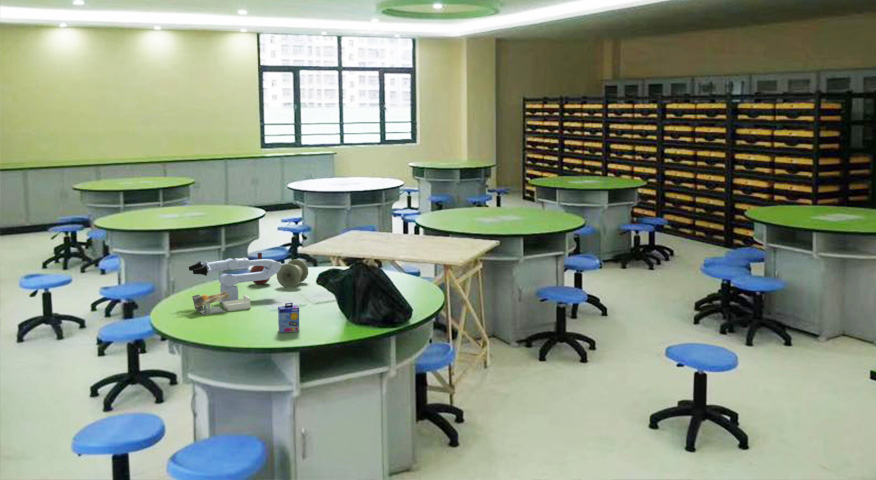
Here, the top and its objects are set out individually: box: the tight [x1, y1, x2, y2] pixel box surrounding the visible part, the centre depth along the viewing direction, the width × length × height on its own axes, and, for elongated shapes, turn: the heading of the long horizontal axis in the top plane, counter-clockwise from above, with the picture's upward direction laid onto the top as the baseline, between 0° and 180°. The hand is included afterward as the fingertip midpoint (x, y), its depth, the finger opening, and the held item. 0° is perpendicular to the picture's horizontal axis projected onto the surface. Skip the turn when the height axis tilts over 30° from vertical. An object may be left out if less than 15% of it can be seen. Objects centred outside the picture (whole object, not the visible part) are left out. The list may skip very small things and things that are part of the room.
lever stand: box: [198, 303, 226, 316], centre depth 410 cm, size 12×12×6 cm
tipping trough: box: [191, 291, 230, 313], centre depth 412 cm, size 18×12×7 cm, turn 120°
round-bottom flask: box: [249, 252, 271, 286], centre depth 478 cm, size 13×13×20 cm
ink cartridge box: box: [277, 302, 300, 334], centre depth 371 cm, size 10×6×14 cm, turn 112°
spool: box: [276, 259, 309, 289], centre depth 476 cm, size 16×15×15 cm
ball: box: [200, 294, 209, 301], centre depth 408 cm, size 4×4×4 cm
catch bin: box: [222, 294, 251, 312], centre depth 417 cm, size 12×10×6 cm
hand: (191, 270), depth 419 cm, fingers open, 7 cm apart
